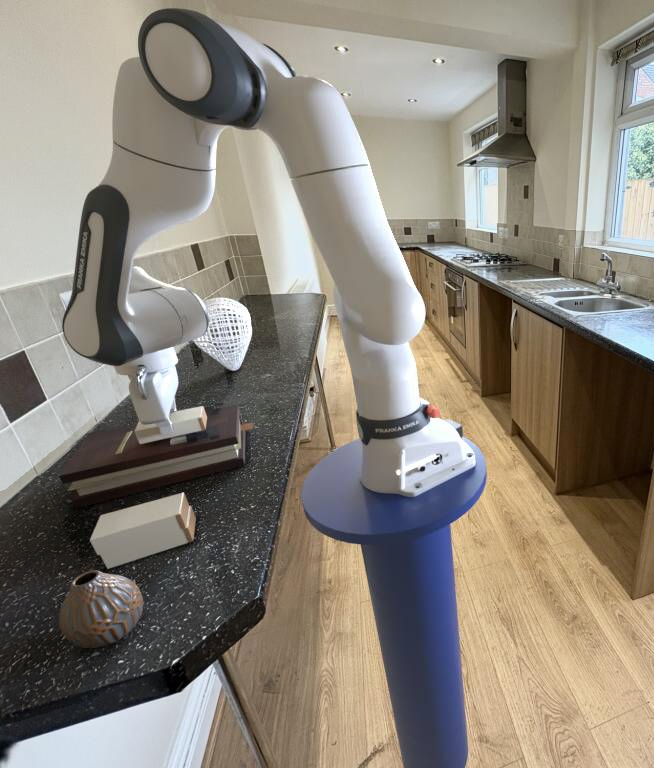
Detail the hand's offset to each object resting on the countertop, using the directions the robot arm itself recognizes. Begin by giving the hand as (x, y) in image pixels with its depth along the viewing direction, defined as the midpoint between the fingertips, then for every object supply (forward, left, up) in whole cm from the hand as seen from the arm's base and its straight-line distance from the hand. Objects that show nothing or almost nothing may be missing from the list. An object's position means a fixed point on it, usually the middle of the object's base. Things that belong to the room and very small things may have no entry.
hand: (170, 425), depth 80 cm
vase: (+4, +40, -9) cm, 41 cm away
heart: (-9, -58, -9) cm, 59 cm away
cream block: (0, 0, -1) cm, 1 cm away
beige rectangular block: (+2, +24, -9) cm, 26 cm away
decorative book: (+2, -2, -9) cm, 10 cm away
